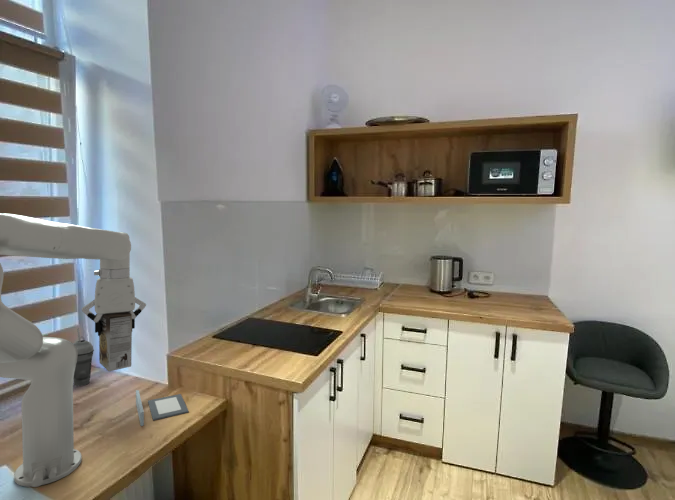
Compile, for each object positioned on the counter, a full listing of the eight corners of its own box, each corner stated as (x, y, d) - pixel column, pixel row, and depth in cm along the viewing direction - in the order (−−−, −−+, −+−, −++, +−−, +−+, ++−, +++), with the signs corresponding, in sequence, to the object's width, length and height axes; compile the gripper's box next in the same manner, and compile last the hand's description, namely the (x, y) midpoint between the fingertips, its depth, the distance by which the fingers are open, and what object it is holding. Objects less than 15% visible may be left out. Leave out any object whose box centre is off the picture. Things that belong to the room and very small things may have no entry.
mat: (188, 412, 116) (188, 410, 116) (153, 420, 111) (153, 418, 111) (180, 395, 127) (180, 393, 127) (148, 401, 122) (148, 400, 122)
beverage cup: (85, 388, 129) (84, 332, 128) (64, 387, 129) (63, 331, 128) (98, 379, 136) (98, 326, 135) (79, 378, 137) (78, 325, 135)
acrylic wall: (143, 425, 108) (143, 412, 108) (140, 426, 108) (140, 412, 107) (138, 401, 121) (138, 389, 121) (135, 402, 121) (135, 390, 121)
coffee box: (98, 363, 112) (97, 310, 111) (121, 358, 117) (121, 307, 116) (108, 372, 106) (107, 316, 105) (132, 366, 111) (132, 313, 110)
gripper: (78, 277, 102) (79, 340, 103) (149, 274, 111) (149, 332, 112) (79, 273, 108) (80, 333, 109) (146, 271, 117) (146, 326, 119)
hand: (115, 332), depth 111 cm, fingers closed on coffee box, 7 cm apart
